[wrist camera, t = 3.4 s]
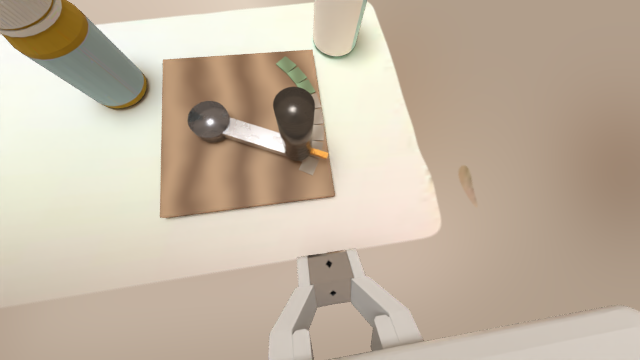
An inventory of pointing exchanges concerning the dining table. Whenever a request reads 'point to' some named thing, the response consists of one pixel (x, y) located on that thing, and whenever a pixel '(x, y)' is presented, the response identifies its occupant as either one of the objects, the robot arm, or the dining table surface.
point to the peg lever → (292, 121)
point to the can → (337, 25)
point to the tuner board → (228, 155)
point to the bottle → (72, 49)
